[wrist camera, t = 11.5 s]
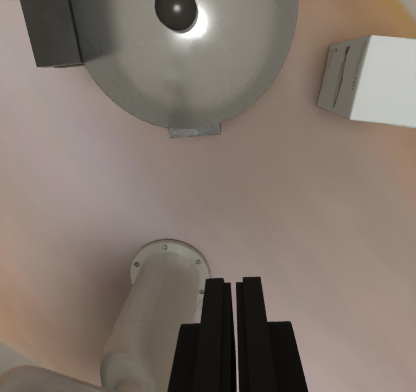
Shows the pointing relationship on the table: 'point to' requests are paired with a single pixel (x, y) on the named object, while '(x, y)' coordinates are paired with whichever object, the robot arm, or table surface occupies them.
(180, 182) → the table surface
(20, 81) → the table surface
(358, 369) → the table surface
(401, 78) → the supplement box
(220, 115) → the cooker lid
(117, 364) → the robot arm
